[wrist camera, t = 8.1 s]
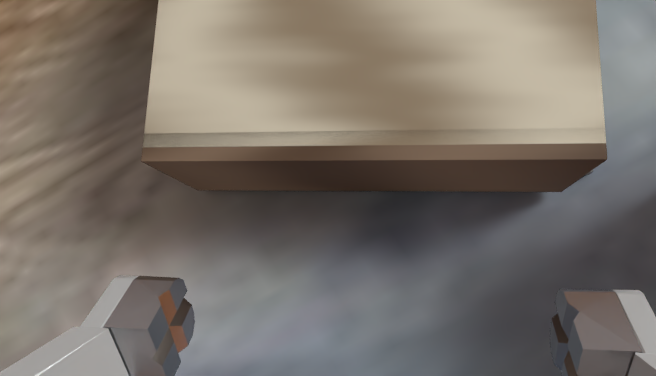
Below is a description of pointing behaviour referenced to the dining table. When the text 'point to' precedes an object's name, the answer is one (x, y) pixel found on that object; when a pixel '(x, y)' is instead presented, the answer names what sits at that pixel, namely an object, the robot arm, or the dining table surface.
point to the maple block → (376, 95)
